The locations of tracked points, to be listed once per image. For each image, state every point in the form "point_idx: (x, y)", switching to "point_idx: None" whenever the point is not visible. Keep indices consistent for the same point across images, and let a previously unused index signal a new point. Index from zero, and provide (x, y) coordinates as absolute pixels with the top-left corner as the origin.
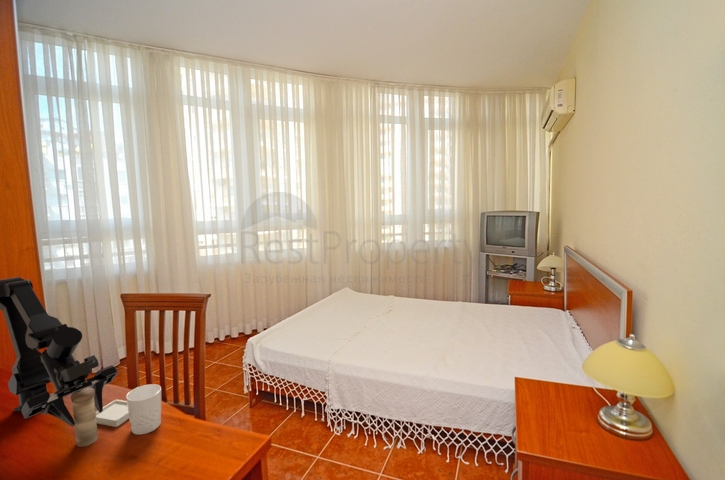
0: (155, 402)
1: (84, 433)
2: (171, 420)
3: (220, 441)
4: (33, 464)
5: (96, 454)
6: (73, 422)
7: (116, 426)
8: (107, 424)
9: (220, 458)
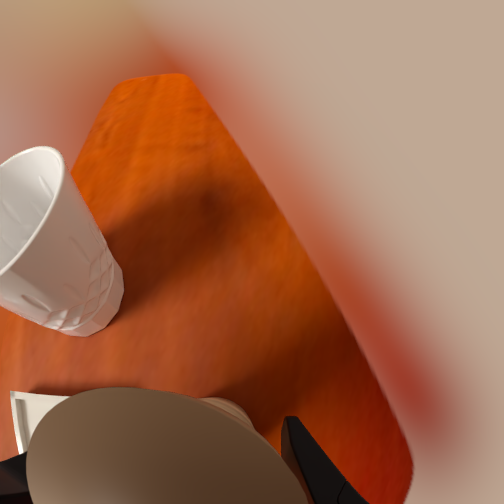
0: (43, 177)
1: (237, 407)
2: None
3: (120, 112)
4: (373, 455)
5: (247, 317)
6: (293, 423)
7: None
8: None
9: (161, 91)
